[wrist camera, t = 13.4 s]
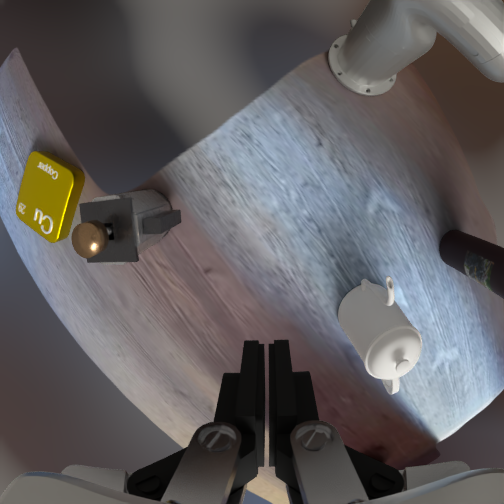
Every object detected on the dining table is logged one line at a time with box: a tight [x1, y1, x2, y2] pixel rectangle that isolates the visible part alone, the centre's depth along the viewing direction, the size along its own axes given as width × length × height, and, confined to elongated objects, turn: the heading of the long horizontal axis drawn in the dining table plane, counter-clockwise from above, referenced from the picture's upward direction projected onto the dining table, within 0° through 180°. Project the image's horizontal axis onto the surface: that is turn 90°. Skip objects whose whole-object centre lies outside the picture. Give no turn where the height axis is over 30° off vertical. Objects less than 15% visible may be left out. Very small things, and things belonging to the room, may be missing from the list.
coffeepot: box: [338, 276, 422, 395], centre depth 40 cm, size 11×25×19 cm, turn 19°
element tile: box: [16, 151, 85, 243], centre depth 44 cm, size 15×15×5 cm
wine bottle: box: [440, 230, 504, 299], centre depth 31 cm, size 7×7×30 cm
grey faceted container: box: [80, 189, 181, 265], centre depth 40 cm, size 9×12×15 cm
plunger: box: [72, 220, 113, 258], centre depth 35 cm, size 7×7×14 cm
